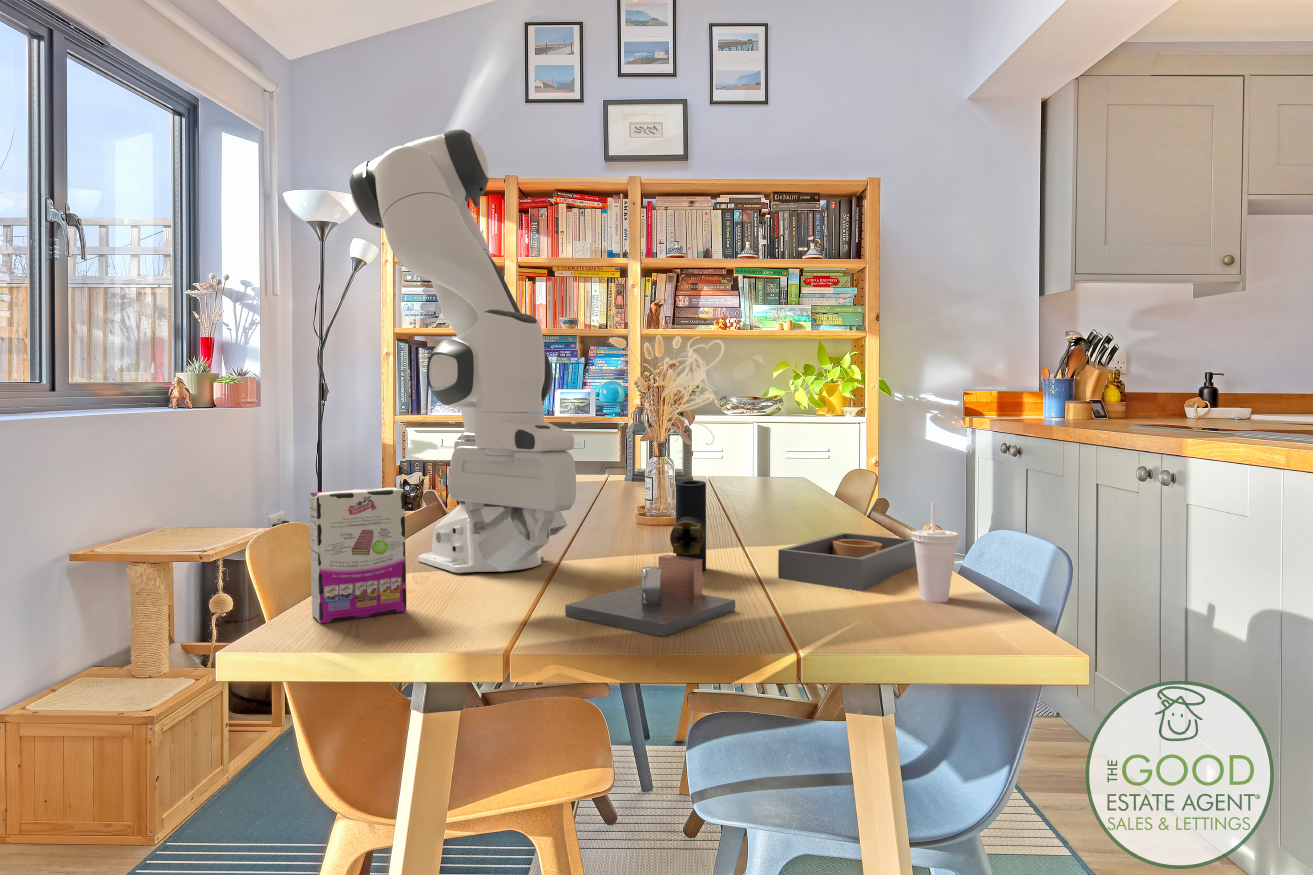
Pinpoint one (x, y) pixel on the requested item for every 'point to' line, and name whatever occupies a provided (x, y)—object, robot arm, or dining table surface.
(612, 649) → the dining table surface
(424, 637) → the dining table surface
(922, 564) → the smoothie
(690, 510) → the pipe connector
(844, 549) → the brown oblong hollow piece
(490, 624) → the dining table surface
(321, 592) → the candy bar box
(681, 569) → the grey square stand
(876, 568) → the parts corral
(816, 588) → the dining table surface
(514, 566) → the octagonal handled mug
